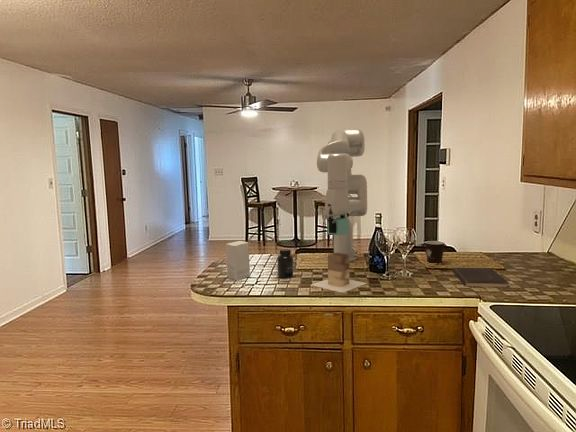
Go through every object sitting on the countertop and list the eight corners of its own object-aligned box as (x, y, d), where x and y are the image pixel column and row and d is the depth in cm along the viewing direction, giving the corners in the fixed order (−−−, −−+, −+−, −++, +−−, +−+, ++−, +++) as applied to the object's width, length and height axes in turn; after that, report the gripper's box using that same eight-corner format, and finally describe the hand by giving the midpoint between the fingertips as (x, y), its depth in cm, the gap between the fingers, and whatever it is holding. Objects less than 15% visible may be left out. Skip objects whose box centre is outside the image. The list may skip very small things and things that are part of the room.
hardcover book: (491, 273, 190) (491, 267, 190) (508, 288, 167) (509, 282, 167) (452, 272, 193) (452, 267, 192) (464, 287, 170) (465, 282, 170)
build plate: (335, 278, 186) (335, 276, 185) (367, 285, 174) (367, 283, 174) (310, 287, 174) (310, 284, 174) (342, 295, 163) (342, 292, 163)
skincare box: (241, 274, 197) (240, 240, 195) (251, 276, 193) (249, 242, 191) (226, 278, 191) (225, 243, 189) (236, 280, 187) (234, 245, 185)
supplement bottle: (291, 279, 187) (291, 251, 186) (276, 278, 189) (275, 251, 187) (294, 274, 194) (294, 248, 192) (279, 274, 195) (279, 248, 194)
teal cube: (336, 232, 176) (336, 217, 175) (348, 233, 172) (348, 218, 171) (327, 234, 172) (327, 218, 171) (339, 235, 167) (339, 220, 167)
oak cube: (337, 281, 178) (337, 266, 178) (349, 283, 174) (349, 269, 174) (328, 284, 174) (327, 269, 174) (340, 287, 170) (339, 272, 169)
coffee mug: (446, 265, 204) (447, 244, 202) (428, 265, 204) (428, 244, 202) (438, 259, 215) (438, 239, 214) (420, 259, 215) (421, 239, 214)
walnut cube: (337, 266, 178) (337, 252, 177) (349, 269, 174) (349, 254, 173) (327, 269, 174) (327, 254, 173) (339, 271, 169) (339, 256, 169)
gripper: (343, 184, 178) (343, 228, 180) (315, 187, 166) (316, 233, 168) (358, 184, 173) (358, 229, 175) (330, 187, 161) (331, 235, 163)
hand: (338, 231), depth 171 cm, fingers closed on teal cube, 6 cm apart
